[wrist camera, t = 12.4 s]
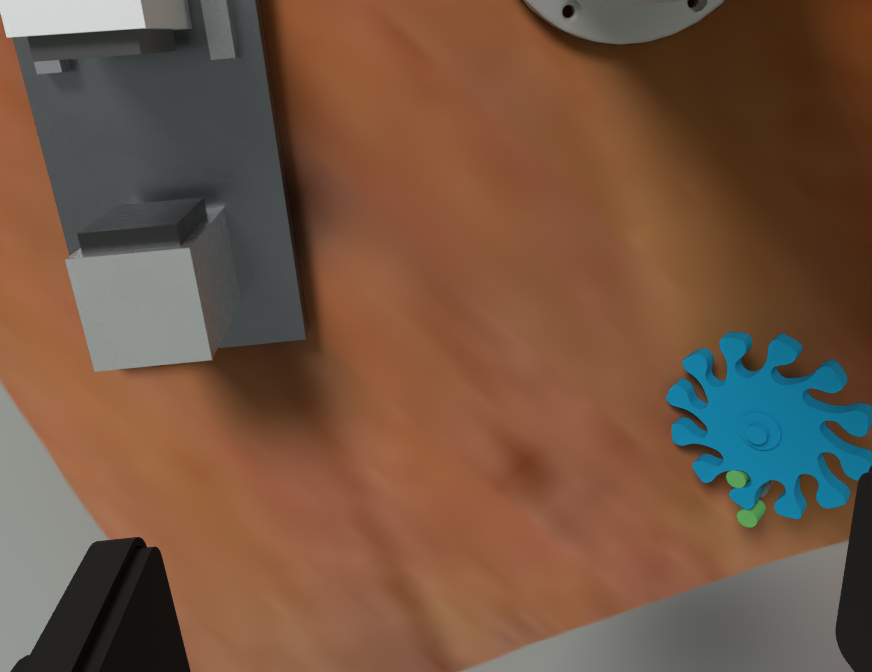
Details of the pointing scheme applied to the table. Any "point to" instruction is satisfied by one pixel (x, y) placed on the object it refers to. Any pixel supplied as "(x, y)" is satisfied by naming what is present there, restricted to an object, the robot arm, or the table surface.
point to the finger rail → (172, 192)
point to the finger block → (95, 26)
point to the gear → (769, 427)
